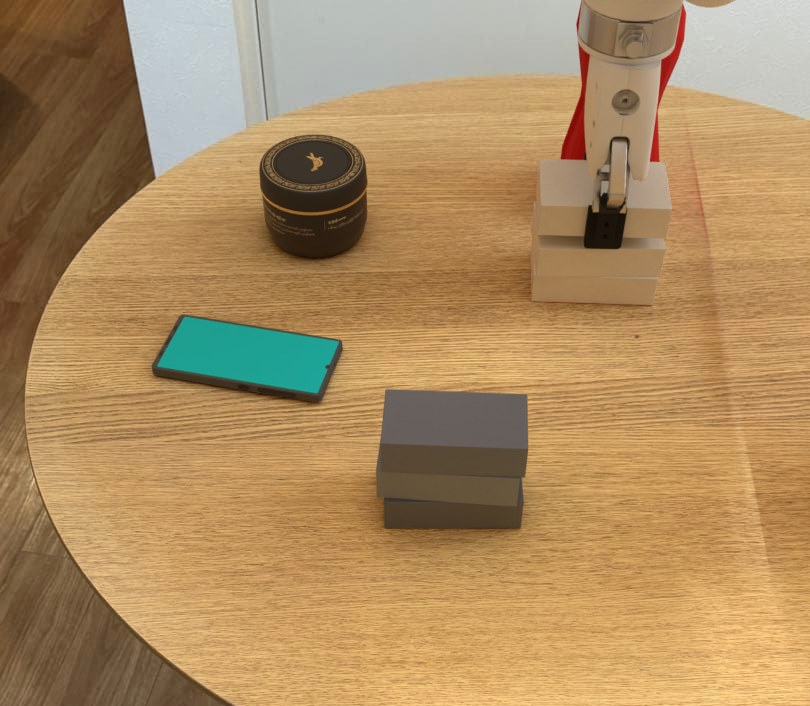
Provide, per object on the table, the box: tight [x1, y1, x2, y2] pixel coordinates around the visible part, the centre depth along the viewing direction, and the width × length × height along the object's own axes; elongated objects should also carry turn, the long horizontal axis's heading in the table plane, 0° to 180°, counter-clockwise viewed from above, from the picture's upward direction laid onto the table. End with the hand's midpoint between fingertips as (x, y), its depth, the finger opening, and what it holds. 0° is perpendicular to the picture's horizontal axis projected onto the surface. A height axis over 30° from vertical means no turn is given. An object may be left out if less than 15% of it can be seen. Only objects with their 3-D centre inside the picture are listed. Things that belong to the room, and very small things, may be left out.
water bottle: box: [560, 0, 687, 162], centre depth 106 cm, size 9×11×25 cm
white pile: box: [529, 201, 667, 306], centre depth 105 cm, size 11×8×6 cm
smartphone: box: [151, 314, 344, 403], centre depth 99 cm, size 7×1×15 cm
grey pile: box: [375, 388, 529, 529], centre depth 86 cm, size 11×6×9 cm, turn 87°
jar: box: [258, 133, 369, 259], centre depth 109 cm, size 10×10×8 cm
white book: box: [536, 158, 673, 240], centre depth 100 cm, size 11×7×3 cm, turn 87°
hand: (599, 218), depth 102 cm, fingers closed on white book, 7 cm apart
